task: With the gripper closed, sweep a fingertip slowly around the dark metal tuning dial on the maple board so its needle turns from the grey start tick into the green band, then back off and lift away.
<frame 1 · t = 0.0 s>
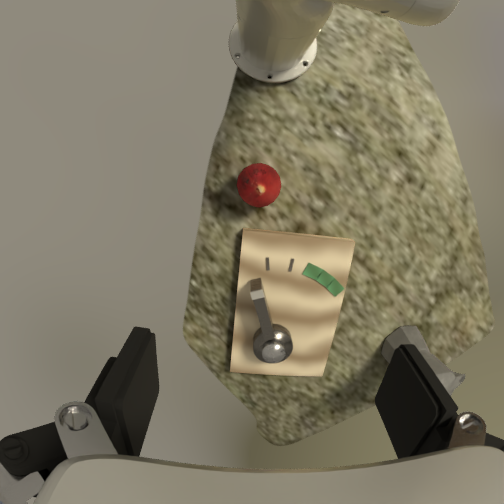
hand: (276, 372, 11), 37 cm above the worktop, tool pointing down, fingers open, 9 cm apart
dial: (267, 326, 48), point 4 cm above the worktop, hinge at 0.0°
onion: (258, 181, 45), on the worktop
tuner board: (287, 309, 52), on the worktop
coffeepot: (396, 345, 55), on the worktop
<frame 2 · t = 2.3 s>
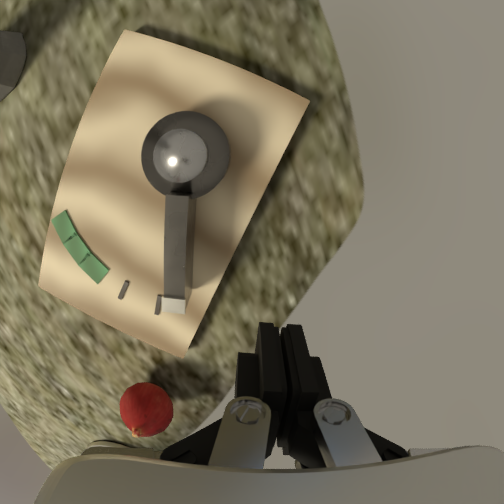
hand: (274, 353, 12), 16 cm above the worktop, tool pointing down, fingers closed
dial: (181, 211, 23), point 4 cm above the worktop, hinge at 0.0°
onion: (154, 385, 33), on the worktop
tuner board: (150, 198, 26), on the worktop
coffeepot: (6, 65, 21), on the worktop
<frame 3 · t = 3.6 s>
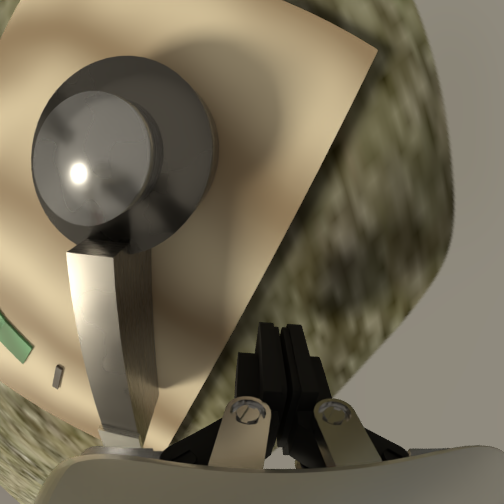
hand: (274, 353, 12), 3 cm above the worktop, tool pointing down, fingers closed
dial: (113, 277, 10), point 4 cm above the worktop, hinge at 0.0°
tuner board: (78, 235, 14), on the worktop
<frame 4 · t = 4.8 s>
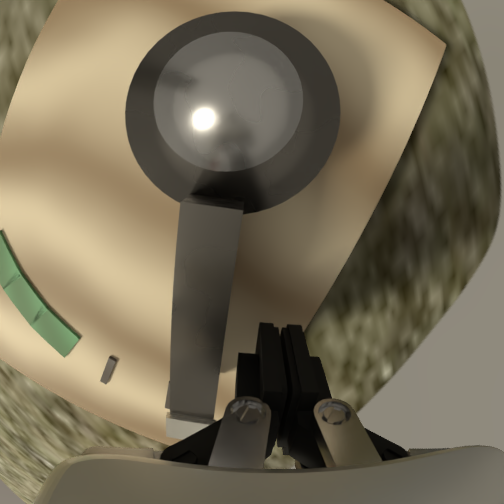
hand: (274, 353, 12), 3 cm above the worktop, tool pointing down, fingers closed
dial: (212, 241, 10), point 4 cm above the worktop, hinge at -3.6°, touching gripper
tuner board: (147, 207, 13), on the worktop
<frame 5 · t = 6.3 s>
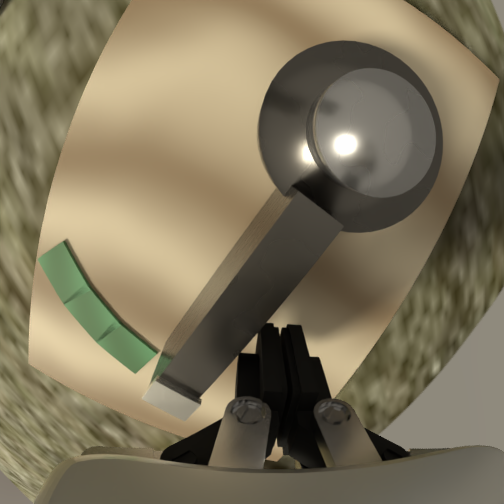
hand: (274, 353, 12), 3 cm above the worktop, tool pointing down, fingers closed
dial: (282, 235, 10), point 4 cm above the worktop, hinge at -30.5°, touching gripper
tuner board: (238, 219, 14), on the worktop
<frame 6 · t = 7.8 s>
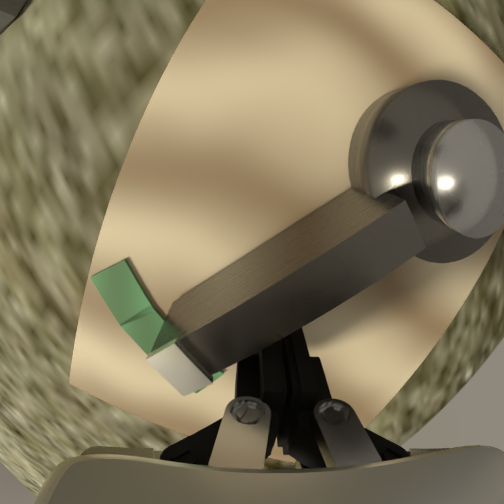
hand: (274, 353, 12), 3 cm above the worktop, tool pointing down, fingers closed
dial: (355, 234, 10), point 4 cm above the worktop, hinge at -50.4°
tuner board: (314, 240, 14), on the worktop
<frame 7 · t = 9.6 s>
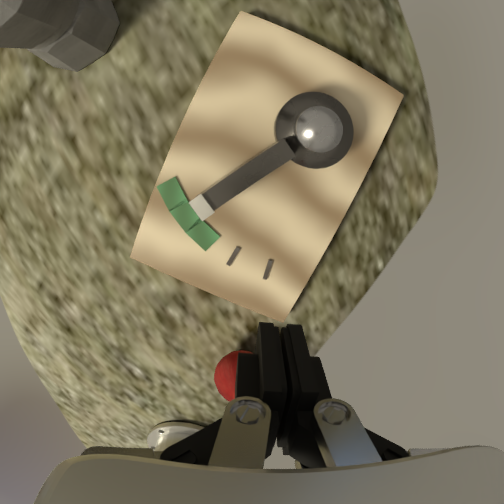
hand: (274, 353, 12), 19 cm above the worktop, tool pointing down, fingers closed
dial: (272, 156, 25), point 4 cm above the worktop, hinge at -50.4°
onion: (242, 355, 36), on the worktop
tuner board: (263, 169, 29), on the worktop
coffeepot: (91, 31, 24), on the worktop
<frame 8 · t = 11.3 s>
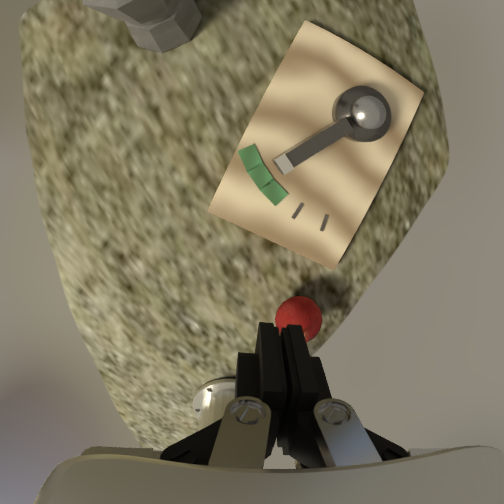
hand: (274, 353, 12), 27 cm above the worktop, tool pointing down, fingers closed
dial: (334, 131, 31), point 4 cm above the worktop, hinge at -50.4°
onion: (294, 305, 42), on the worktop
tuner board: (321, 143, 35), on the worktop
coffeepot: (174, 21, 30), on the worktop
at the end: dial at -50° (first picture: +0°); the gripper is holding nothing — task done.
